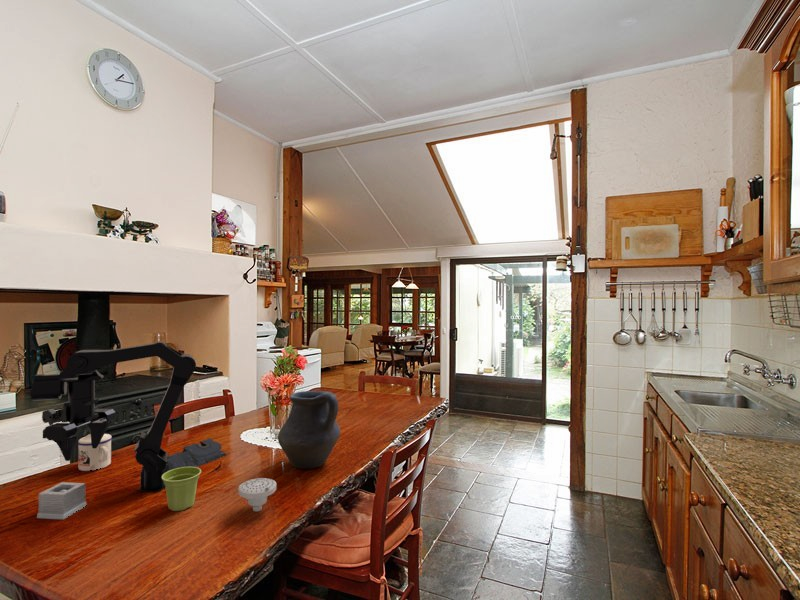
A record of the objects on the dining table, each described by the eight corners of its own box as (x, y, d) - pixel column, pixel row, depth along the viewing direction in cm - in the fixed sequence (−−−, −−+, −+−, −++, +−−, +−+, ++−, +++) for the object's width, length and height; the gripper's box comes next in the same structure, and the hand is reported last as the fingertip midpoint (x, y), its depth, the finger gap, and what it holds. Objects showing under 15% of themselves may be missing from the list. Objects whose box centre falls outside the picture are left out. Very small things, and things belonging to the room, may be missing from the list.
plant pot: (156, 517, 106) (157, 482, 106) (165, 499, 115) (166, 468, 116) (197, 512, 109) (197, 478, 109) (203, 496, 118) (203, 464, 118)
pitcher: (308, 448, 157) (309, 381, 157) (355, 460, 146) (356, 388, 146) (264, 467, 139) (265, 391, 139) (314, 482, 128) (315, 399, 128)
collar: (85, 502, 111) (85, 483, 111) (63, 514, 105) (63, 494, 105) (61, 501, 112) (61, 482, 112) (38, 513, 105) (38, 493, 105)
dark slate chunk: (144, 468, 138) (144, 453, 138) (202, 447, 158) (202, 435, 158) (175, 477, 131) (175, 462, 131) (232, 454, 151) (232, 441, 151)
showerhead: (252, 493, 104) (231, 482, 110) (252, 523, 104) (231, 510, 110) (285, 481, 111) (263, 471, 118) (284, 509, 111) (263, 497, 118)
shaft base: (86, 505, 112) (86, 484, 112) (63, 519, 105) (63, 496, 105) (61, 504, 112) (61, 483, 112) (37, 518, 105) (37, 495, 105)
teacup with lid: (72, 467, 136) (72, 431, 136) (103, 458, 144) (103, 424, 144) (89, 476, 130) (90, 438, 130) (121, 466, 138) (122, 430, 138)
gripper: (79, 389, 125) (79, 442, 125) (21, 405, 106) (21, 467, 106) (116, 389, 124) (116, 442, 124) (64, 405, 106) (64, 468, 106)
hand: (81, 454), depth 115 cm, fingers open, 9 cm apart
